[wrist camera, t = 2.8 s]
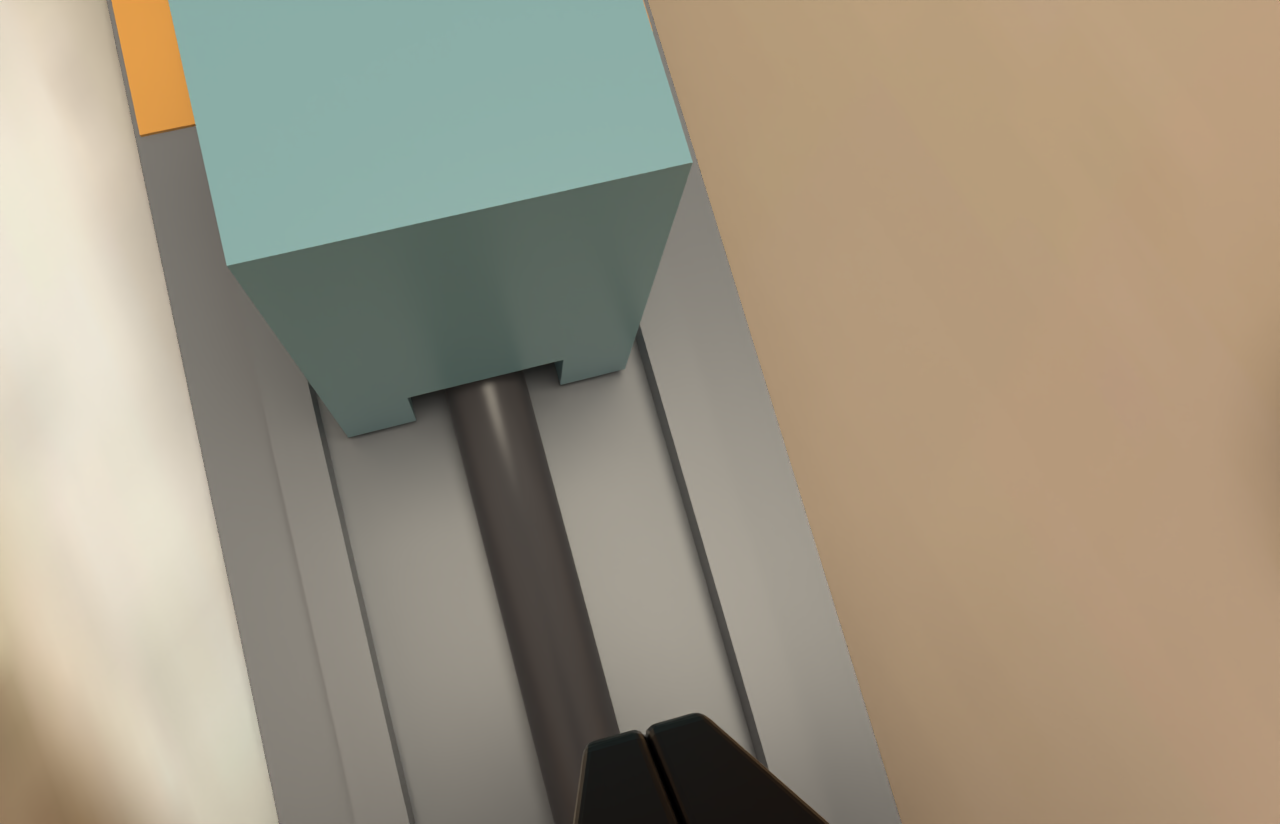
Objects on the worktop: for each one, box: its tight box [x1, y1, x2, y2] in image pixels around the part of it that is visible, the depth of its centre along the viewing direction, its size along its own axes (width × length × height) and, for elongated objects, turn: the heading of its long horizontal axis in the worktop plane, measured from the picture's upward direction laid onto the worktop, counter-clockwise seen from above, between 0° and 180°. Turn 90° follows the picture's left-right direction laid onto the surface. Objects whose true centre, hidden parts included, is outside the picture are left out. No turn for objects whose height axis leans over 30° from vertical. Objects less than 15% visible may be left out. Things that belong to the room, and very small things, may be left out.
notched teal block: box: [168, 0, 693, 438], centre depth 17 cm, size 6×5×9 cm
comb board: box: [107, 0, 902, 824], centre depth 20 cm, size 26×10×6 cm, turn 16°
